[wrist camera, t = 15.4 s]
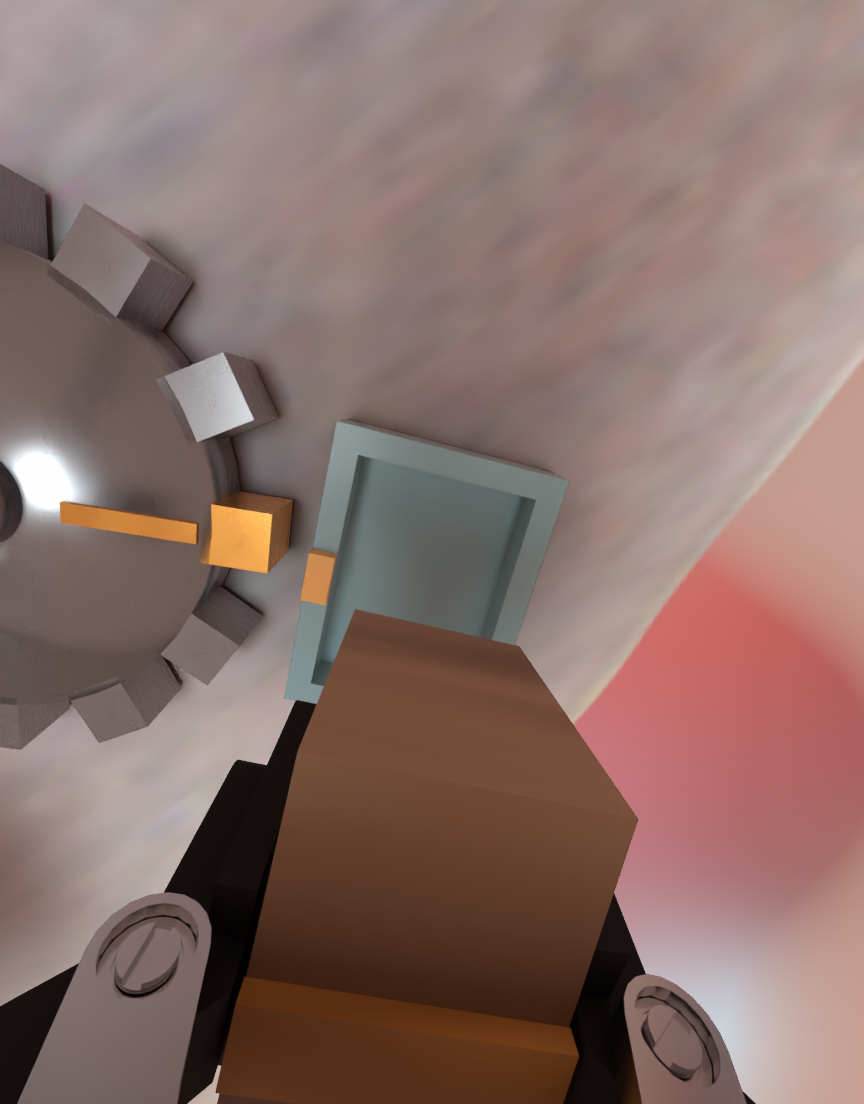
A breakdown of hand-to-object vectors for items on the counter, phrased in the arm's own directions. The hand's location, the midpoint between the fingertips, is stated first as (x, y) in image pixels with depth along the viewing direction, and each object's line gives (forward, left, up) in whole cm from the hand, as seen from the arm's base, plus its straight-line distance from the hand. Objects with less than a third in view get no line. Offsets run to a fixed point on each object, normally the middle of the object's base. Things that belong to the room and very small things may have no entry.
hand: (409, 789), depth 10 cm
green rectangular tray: (0, 0, -13) cm, 13 cm away
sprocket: (+12, -12, -13) cm, 22 cm away
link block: (+1, +1, -2) cm, 2 cm away
